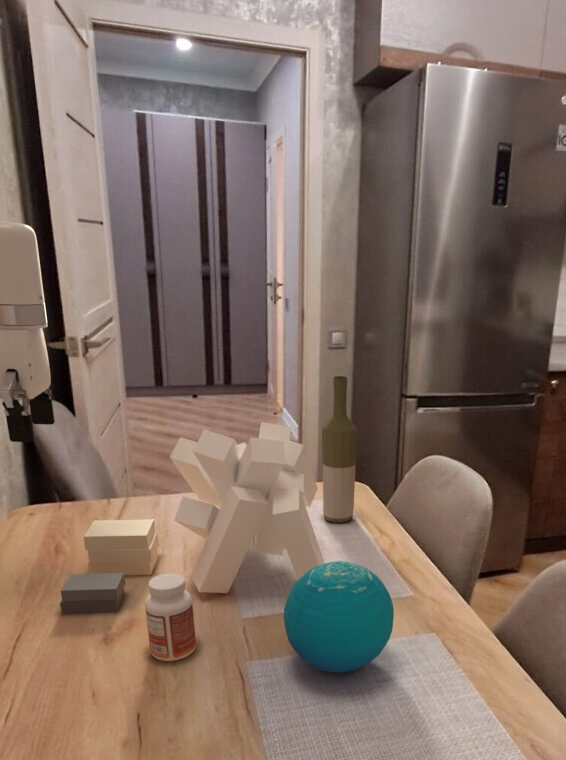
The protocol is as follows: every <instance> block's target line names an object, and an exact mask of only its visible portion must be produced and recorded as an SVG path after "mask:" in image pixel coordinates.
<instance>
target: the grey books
mask: <svg viewBox="0 0 566 760" xmlns="http://www.w3.org/2000/svg"><path fill="white" fill-rule="evenodd" d="M125 585H126V575H125V576H124V573H91V574H89V573H71V574H70V575H69V576H68V579H67V580H66V581H65V583H64V585H63V586H62V587H61V590H60V595H61V600H60V602H59V605H60V612H61V615H75V614H101V613H103V614H104V613H118V611H119V609H120V606H121V604H122V602H123V599H124V597H125Z"/></svg>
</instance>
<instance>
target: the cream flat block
mask: <svg viewBox="0 0 566 760" xmlns="http://www.w3.org/2000/svg"><path fill="white" fill-rule="evenodd" d="M155 533H156V526H155V519H154V518H153V519H149V518H148V519H146V518H145V519H94V520H93V522H92V523H91V524H90V526H89V528H88V529H87V531H86V532H85V533H84V535H83V544H84V549H85V551H88V550H114V549H148V548H149V545H150V543H151V541H152V538H153V536H154V534H155Z"/></svg>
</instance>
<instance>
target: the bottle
mask: <svg viewBox="0 0 566 760" xmlns="http://www.w3.org/2000/svg"><path fill="white" fill-rule="evenodd" d="M332 385H333V410H332V411H333V413H332V416H331V417H330V418H329V419H328V421H327V422H326V423H325V424H324V425H323V426H322V431H321V435H322V437H321V439H322V440H321V441H322V443H321V444H322V445H321V446H322V447H321V448H322V453H321V454H322V510H323V511H322V513H323V514H322V515H323V518H324V519H325V520H326V521H328V522H331V523H338V524H339V523H345V522H349V521H352V519H353V517H354V507H355V485H356V484H355V483H356V461H357V438H358V437H357V435H358V431H357V426H356V425H355V424H354V423H353V422H352V420H351V419H350V418H349V416H348V415H347V401H348V400H347V399H348V398H347V397H348V396H347V395H348V393H347V392H348V377H347V376H342V375H337V376H333V381H332Z"/></svg>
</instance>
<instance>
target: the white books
mask: <svg viewBox="0 0 566 760" xmlns="http://www.w3.org/2000/svg"><path fill="white" fill-rule="evenodd" d="M158 547H159V536H158V532H155V534H154V536H153V538H152V541H151V543H150V545H149V548H148V549H114V550H87V556H88V563H87V565H88V566H87V567H88V574H91V573H124V576H125V577H126V576H152V574H153V571H154V569H155V566H156V564H157V561H158V559H159V552H158Z"/></svg>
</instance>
